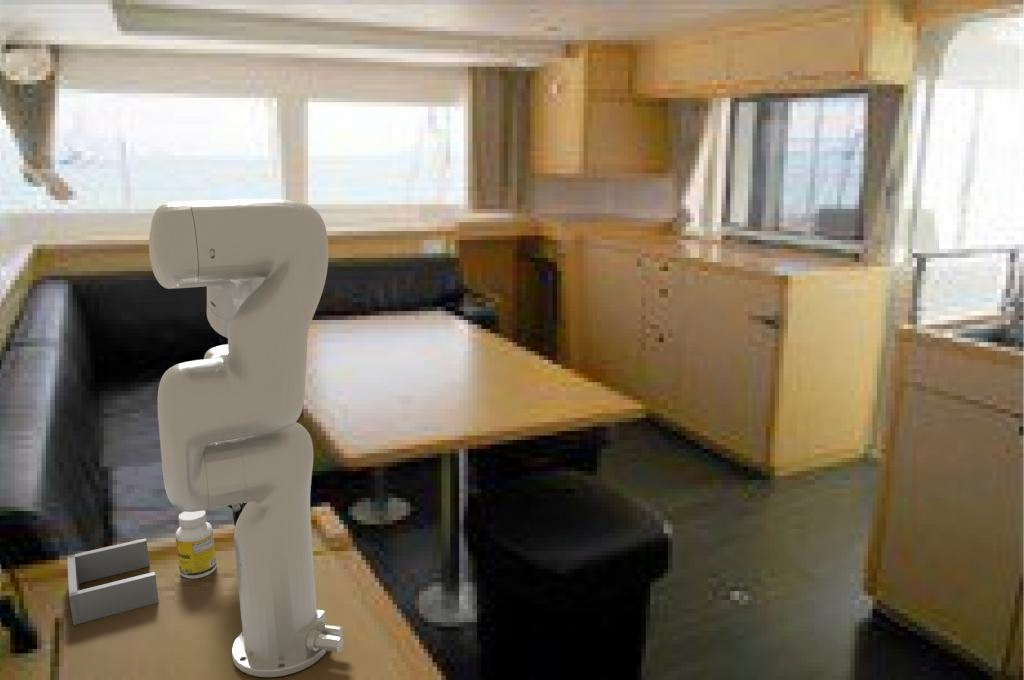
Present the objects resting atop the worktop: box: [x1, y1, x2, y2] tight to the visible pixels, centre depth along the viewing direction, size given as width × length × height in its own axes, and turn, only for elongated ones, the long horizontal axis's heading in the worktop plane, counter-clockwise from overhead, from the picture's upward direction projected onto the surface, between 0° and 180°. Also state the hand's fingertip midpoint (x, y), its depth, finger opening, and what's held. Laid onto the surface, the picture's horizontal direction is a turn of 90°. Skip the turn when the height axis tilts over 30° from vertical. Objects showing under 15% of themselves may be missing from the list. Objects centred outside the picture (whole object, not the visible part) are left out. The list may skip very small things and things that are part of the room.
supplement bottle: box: [175, 510, 217, 580], centre depth 120 cm, size 5×5×10 cm
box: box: [66, 537, 160, 626], centre depth 115 cm, size 11×13×4 cm
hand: (244, 528), depth 125 cm, fingers closed
